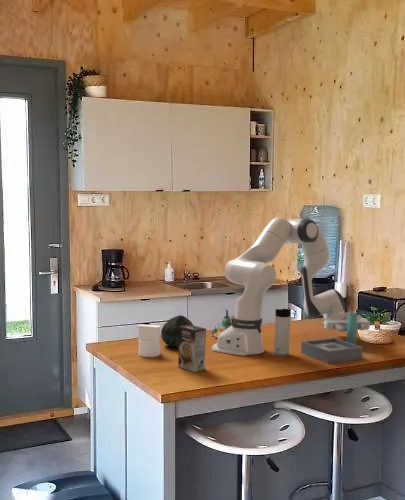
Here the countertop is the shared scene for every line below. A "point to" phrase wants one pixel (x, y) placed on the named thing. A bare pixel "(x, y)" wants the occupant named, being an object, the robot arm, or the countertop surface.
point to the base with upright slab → (149, 340)
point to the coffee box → (192, 347)
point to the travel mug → (282, 332)
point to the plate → (331, 346)
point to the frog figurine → (224, 323)
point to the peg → (351, 328)
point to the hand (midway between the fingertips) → (352, 328)
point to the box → (331, 351)
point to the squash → (173, 330)
